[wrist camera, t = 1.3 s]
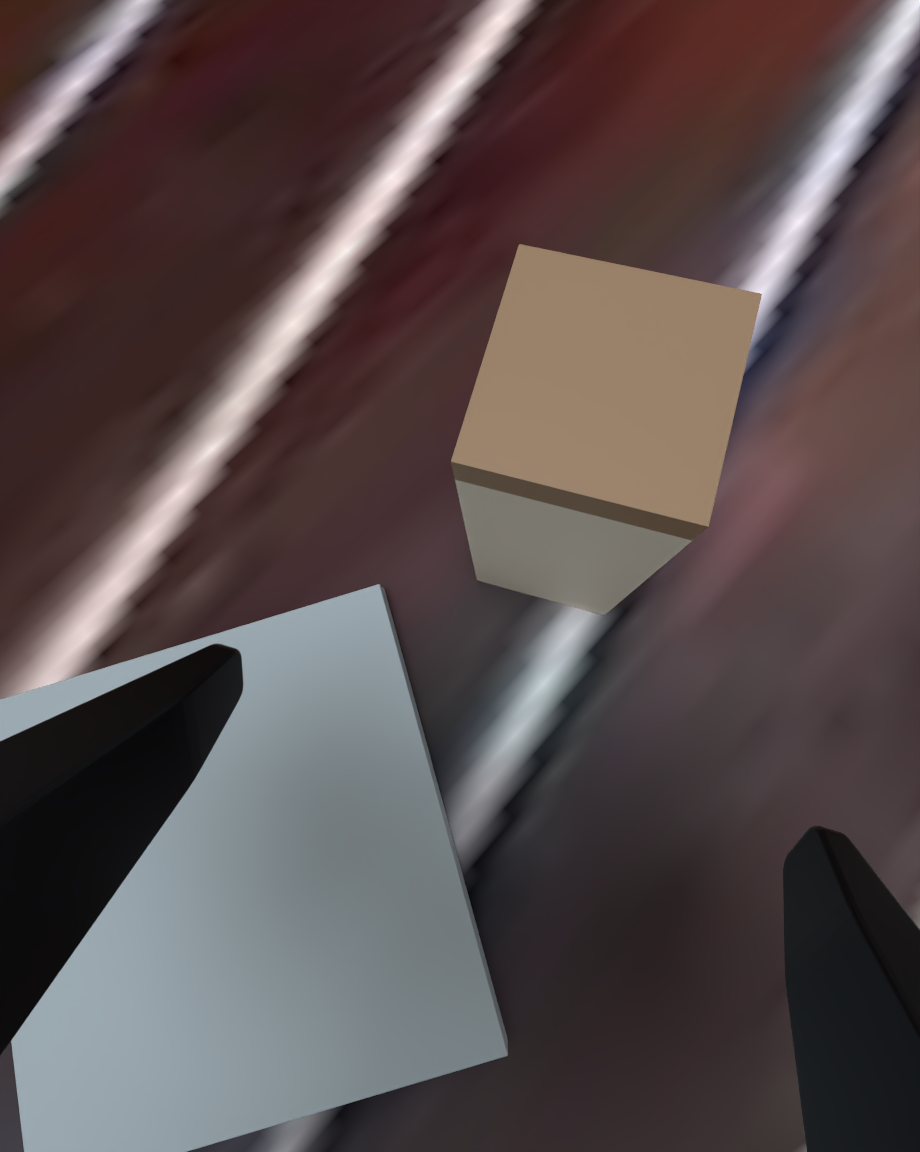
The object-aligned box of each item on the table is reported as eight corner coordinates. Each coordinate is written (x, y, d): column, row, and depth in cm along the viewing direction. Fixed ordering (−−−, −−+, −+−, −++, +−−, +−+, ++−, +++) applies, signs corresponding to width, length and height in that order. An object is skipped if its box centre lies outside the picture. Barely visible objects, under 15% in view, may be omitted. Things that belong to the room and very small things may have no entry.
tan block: (604, 615, 23) (708, 526, 11) (476, 580, 24) (450, 461, 12) (635, 493, 24) (761, 293, 12) (511, 462, 25) (519, 243, 13)
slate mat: (507, 1038, 20) (507, 1055, 19) (52, 1174, 21) (29, 1198, 20) (384, 588, 24) (379, 584, 23) (-6, 708, 24) (-28, 708, 23)
